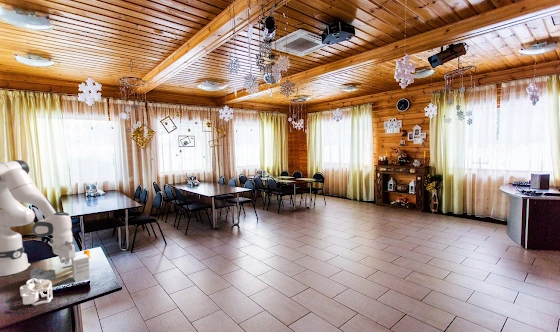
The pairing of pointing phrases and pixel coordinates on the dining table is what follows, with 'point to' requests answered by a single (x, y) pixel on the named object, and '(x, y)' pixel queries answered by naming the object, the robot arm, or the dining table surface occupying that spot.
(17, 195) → the robot arm
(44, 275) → the wooden rectangular frame
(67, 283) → the dining table surface
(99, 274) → the dining table surface
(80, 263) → the supplement box
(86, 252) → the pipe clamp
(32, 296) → the car outline toy
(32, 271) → the stepped grey block
